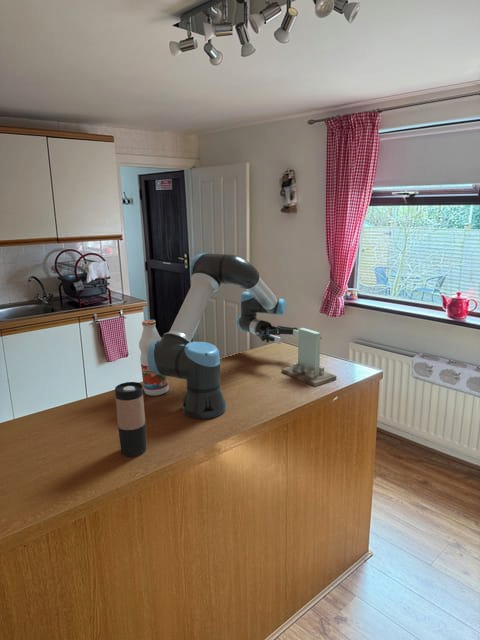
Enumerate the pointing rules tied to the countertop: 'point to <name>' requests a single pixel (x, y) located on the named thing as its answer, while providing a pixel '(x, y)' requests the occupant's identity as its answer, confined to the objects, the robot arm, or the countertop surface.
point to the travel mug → (131, 418)
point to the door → (309, 349)
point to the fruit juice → (151, 380)
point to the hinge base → (309, 375)
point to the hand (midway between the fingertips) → (292, 338)
